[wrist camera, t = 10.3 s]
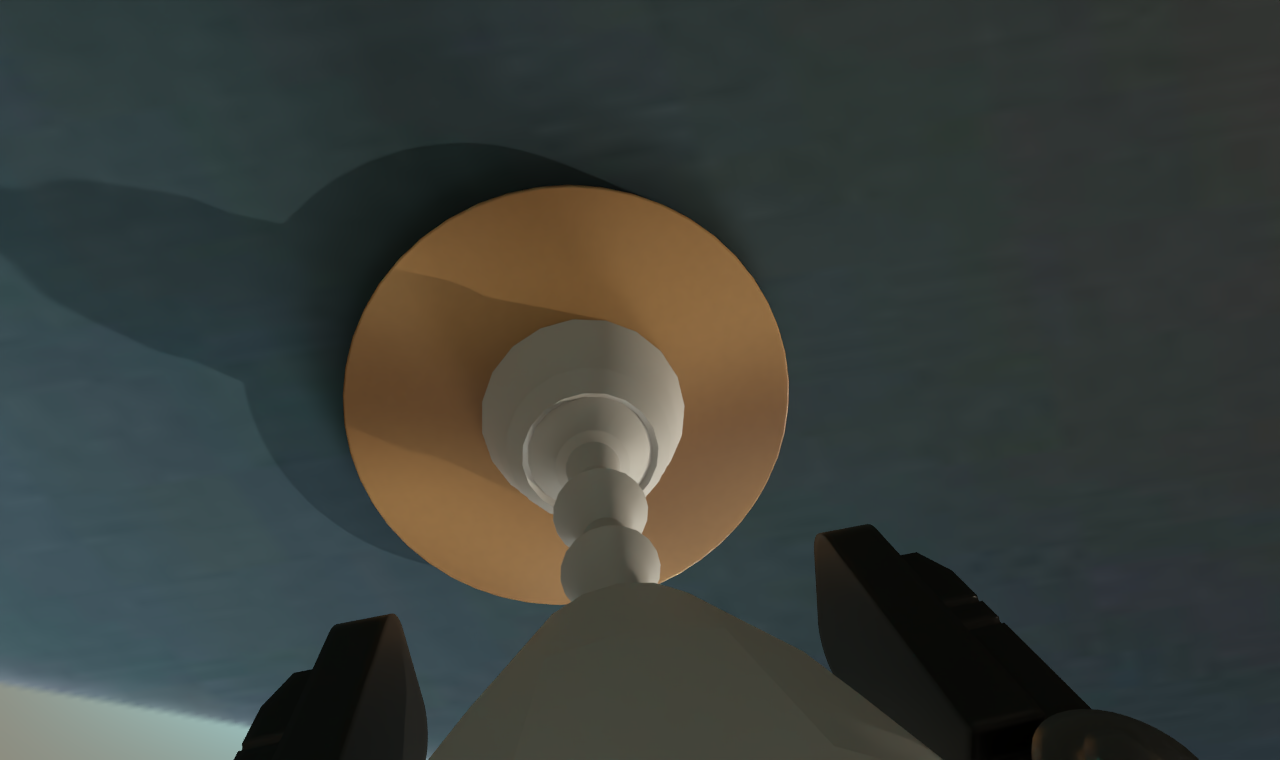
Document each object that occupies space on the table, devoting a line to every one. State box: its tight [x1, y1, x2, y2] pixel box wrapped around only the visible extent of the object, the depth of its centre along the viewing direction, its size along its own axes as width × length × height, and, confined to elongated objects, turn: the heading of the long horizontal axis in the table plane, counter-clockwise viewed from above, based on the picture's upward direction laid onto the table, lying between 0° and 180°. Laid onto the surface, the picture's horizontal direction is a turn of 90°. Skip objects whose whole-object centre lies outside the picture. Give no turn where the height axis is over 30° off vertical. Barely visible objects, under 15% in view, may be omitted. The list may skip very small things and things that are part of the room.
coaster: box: [343, 185, 789, 605], centre depth 17 cm, size 11×11×1 cm
